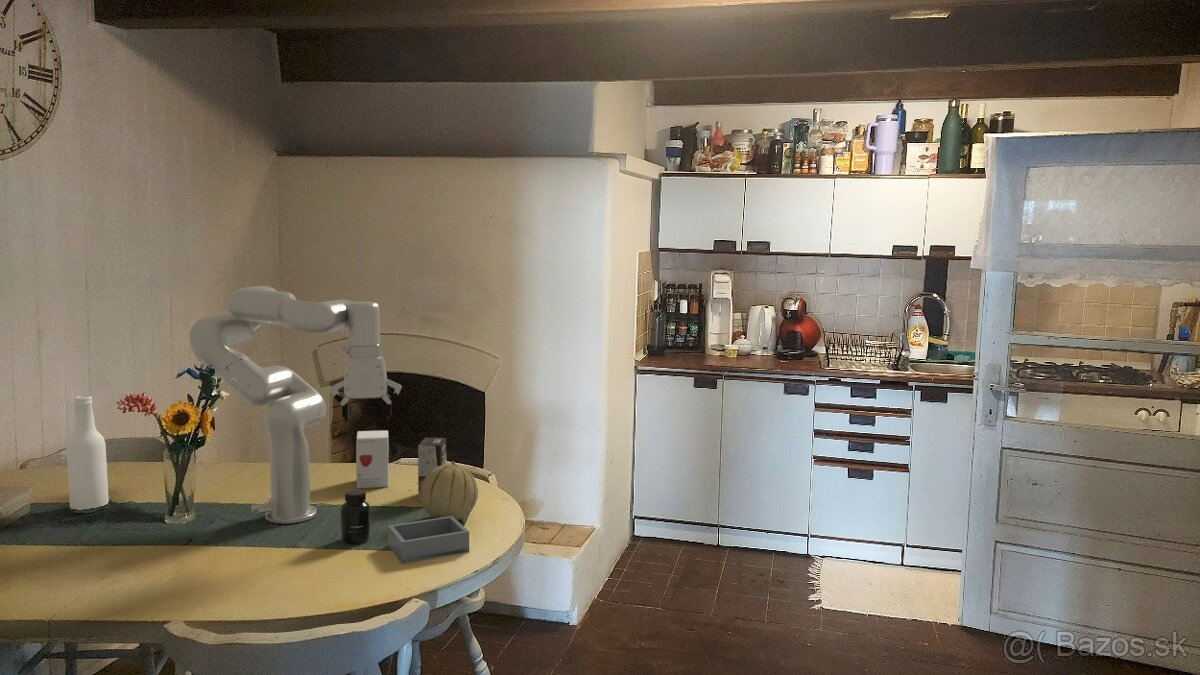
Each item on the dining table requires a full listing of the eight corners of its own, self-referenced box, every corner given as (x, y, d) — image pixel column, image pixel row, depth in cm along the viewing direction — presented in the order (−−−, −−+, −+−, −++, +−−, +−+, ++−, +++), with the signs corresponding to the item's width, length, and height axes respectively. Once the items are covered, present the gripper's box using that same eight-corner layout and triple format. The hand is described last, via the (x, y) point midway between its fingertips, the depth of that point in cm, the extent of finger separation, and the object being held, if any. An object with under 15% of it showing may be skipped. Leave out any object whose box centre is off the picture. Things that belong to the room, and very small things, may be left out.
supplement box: (356, 489, 249) (355, 438, 247) (357, 479, 258) (356, 430, 256) (388, 487, 251) (388, 437, 249) (388, 478, 260) (388, 429, 258)
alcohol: (75, 504, 231) (68, 394, 227) (112, 502, 233) (106, 392, 229) (66, 515, 222) (58, 400, 218) (104, 512, 225) (98, 399, 221)
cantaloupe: (418, 530, 217) (418, 472, 215) (421, 511, 232) (421, 456, 229) (478, 528, 219) (478, 471, 217) (477, 509, 234) (477, 455, 232)
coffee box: (440, 502, 239) (440, 445, 237) (417, 501, 239) (417, 444, 237) (447, 492, 248) (447, 437, 246) (424, 491, 248) (424, 436, 246)
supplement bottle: (354, 547, 205) (353, 498, 204) (334, 541, 209) (333, 493, 207) (376, 538, 211) (375, 491, 210) (356, 533, 215) (355, 486, 213)
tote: (402, 563, 196) (402, 542, 196) (388, 545, 207) (387, 525, 206) (469, 552, 204) (469, 531, 203) (452, 535, 214) (452, 515, 214)
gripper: (326, 354, 209) (328, 424, 211) (399, 353, 211) (401, 422, 214) (331, 350, 216) (333, 417, 218) (401, 348, 219) (403, 415, 221)
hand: (367, 419), depth 216 cm, fingers open, 9 cm apart
